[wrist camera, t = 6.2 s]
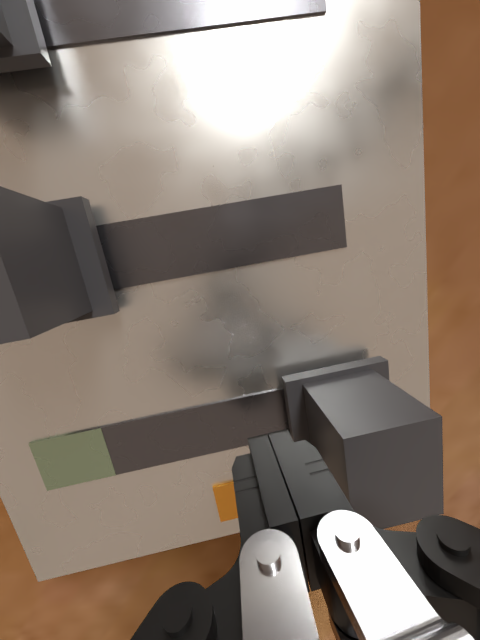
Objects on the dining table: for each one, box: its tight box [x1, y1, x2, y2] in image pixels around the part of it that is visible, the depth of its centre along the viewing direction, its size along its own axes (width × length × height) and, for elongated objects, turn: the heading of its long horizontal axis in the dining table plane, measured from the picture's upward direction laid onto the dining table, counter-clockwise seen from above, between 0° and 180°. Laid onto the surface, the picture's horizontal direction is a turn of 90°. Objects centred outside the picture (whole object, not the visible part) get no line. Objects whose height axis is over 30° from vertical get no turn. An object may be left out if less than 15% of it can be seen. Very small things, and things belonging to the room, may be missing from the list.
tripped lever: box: [281, 356, 443, 529], centre depth 11 cm, size 4×4×4 cm
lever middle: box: [0, 186, 120, 344], centre depth 8 cm, size 4×4×4 cm
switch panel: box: [0, 0, 430, 582], centre depth 12 cm, size 20×28×2 cm
